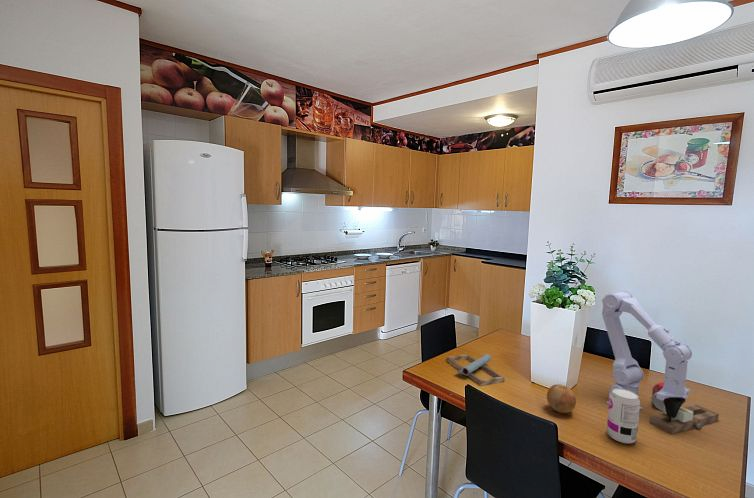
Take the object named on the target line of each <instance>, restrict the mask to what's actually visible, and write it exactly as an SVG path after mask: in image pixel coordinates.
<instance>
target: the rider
mask: <svg viewBox="0 0 754 498" xmlns="http://www.w3.org/2000/svg"><path fill="white" fill-rule="evenodd" d="M662 412H663V413H664V414H666V409H665V405H664V411H662ZM666 415H667V414H666ZM675 420H679V421H681V422H683V423H684V422H687V421H691V420H693V411H690V410H688V409H686V408H685V407H684V406H681V407H680V409H679V411H678V413H677V415H676V417H675V418H672V417H671V422H672V421H675Z"/></svg>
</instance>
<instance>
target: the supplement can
mask: <svg viewBox="0 0 754 498" xmlns="http://www.w3.org/2000/svg"><path fill="white" fill-rule="evenodd" d="M608 401H609V404H608V411H607V423H606V434H607V435H608V436H609V437H611V439H613V440H615V441H617V442H620V443H622V444H628V445H629V444H633V443H636V442H637V439H638V430H639V420H640V419H639V417H640V410H641V409H640V407H641V401H640V399H639V394H638V395H637V394H635V393H633V392H631V391H629V390H625V389H613V390H612V392H611V393H610V398H609V397H608Z"/></svg>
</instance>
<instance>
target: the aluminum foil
mask: <svg viewBox="0 0 754 498" xmlns="http://www.w3.org/2000/svg"><path fill="white" fill-rule="evenodd" d="M491 360H492V356H491V355H490V354H489V353H486V354H484V355H482V356H480V357H479V358H478V359H476V361H474V362H470V363H469V364H468V365H466V366H464V368H463V369H461V370H458V369H457V370H456V371H455V373H457V374H461V375H464V376H466V375H469V374H470V373H472V374H473V372H474V371H476V370H478V369H479V367H481V366H483V365H486V364H487V363H489V362H490V361H491Z"/></svg>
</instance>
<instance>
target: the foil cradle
mask: <svg viewBox="0 0 754 498" xmlns="http://www.w3.org/2000/svg"><path fill="white" fill-rule="evenodd" d="M462 359H464V360H467V359H468V360H467V361H469V360H470V361H471V362H470V361H469V362H470V363H472V362H474V361H476V360H477V359H475V358H474V357H472V356H470V355H469V354H460V355H454V356H446V359H445V361H446V362H447V363H448V362H449V363H450V364H449V363H448V364H449V365H451V366H452V365H453V366H452V367H453V368H454V369H456V368H457V369H456V370H457V371H458V370H461V369H463V368H464V367H465V366H464V367H463V365H460V364H459V363H458V362H457V361H462ZM455 360H457V361H455ZM481 368H482V369H483V370H482V369H481ZM480 369H481V370H482V371H483V372H485V371H486V373H487V374H488V373H489V375H490V376H492V378H491V377H490V378H486V379H485V378H484V379H481V378H480V377H478V376H477V375H475V374H474V373H473V372H472V373H470V374H469V375H465V376H466V377H467V376H468V379H470V378H471V379H470V380H472V381H473V382H474V383H476V384H477V385H478V386H480V387H482V386H487V385H488V386H490V385H494V384H500V383H505V379H506V378H505V377H504V375H501V374H500V373H499V372H496V370H493V369H492V368H490V367H489V366H487V365H486V364H484V365H483V366H481V367H480Z"/></svg>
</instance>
